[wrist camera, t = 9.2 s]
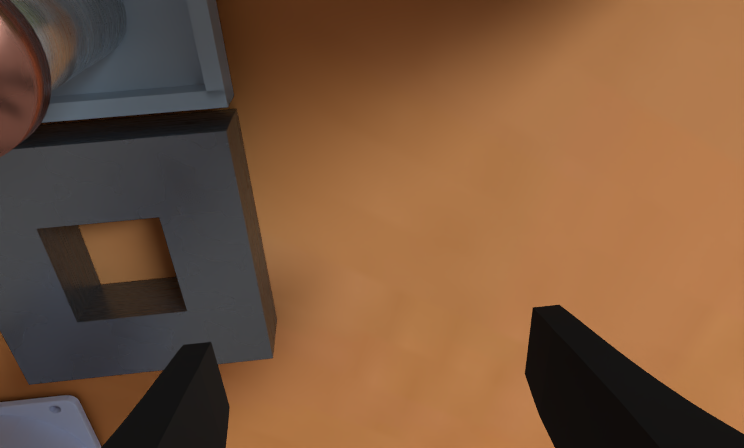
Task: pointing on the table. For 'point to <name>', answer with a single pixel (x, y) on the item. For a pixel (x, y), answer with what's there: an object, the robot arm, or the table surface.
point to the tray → (153, 66)
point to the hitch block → (119, 203)
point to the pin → (48, 54)
